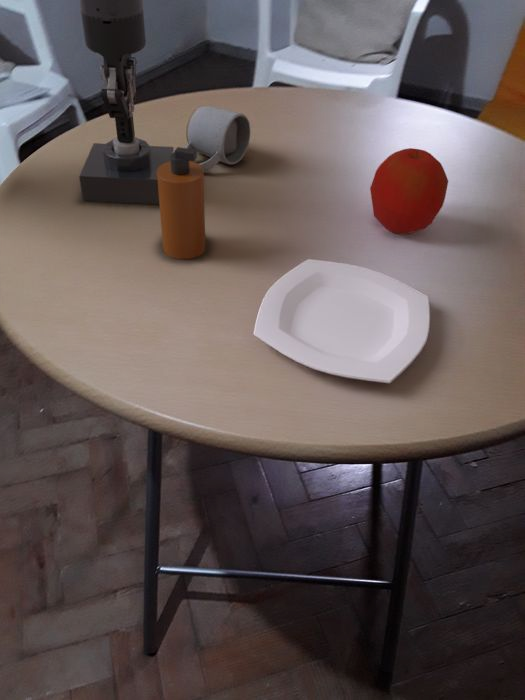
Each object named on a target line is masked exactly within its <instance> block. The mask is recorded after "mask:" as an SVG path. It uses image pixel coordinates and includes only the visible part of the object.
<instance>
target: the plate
mask: <svg viewBox="0 0 525 700" xmlns="http://www.w3.org/2000/svg"><path fill="white" fill-rule="evenodd" d="M430 326H431V308H430V298H429V296H428V295H427V294H424V293H422V292H421V291H419V290H417V289H415V288H413V287H411V286H410V285H408V284H406V283H404V282H403V281H400V280H398V279H396V278H394V277H392V276H389V275H387V274H385V273H382V272H379V271H377V270H374V269H370V268H367V267H363V266H360V265H354V264H349V263H344V262H343V263H342V262H336V261H328V260H321V259H320V260H319V259H310V258H307V259H306V260H304V261H302V262H301V263H299V264H298V265H297V266H295V267H293V268H292V269H291V270H289V271H288V272H286V273H285V274H284V275H282V276H281V277H279V279H278V280H276V281H275V282H274V283H273V284H272V286H270V287H269V288H268V290H267V292H266V293H265V295H264V296H263V298H262V301H261V303H260V306H259V309H258V313H257V317H256V319H255V325H254V330H253V336H255V338H257V339H259V340H261V341H262V342H263V343H265V344H266V345H268V346H269V347H271V348H272V349H274V350H276V351H277V352H278V353H280V354H282V355H283V356H285V357H286V358H289V359H290V360H292V361H294V362H296V363H298V364H300V365H302V366H304V367H307V368H310V369H312V370H314V371H318V372H320V373H324V374H328V375H331V376H336V377H342V378H345V379H351V380H360V381H367V382H374V383H381V384H391V383H392V382H394V380H395V379H397V378H398V377H399V376H400V375H401V374H403V372H404V371H405V370H406V369H407V368H408V367H409V366H410V365H411V364H412V363H413V362H414V360H415V359H416V358H417V357H418V356H419V354H421V351H422V350H424V349H423V348H424V347H425V345H426V343H427V342H428V337H429V334H430Z"/></svg>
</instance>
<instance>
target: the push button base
mask: <svg viewBox="0 0 525 700" xmlns="http://www.w3.org/2000/svg"><path fill="white" fill-rule="evenodd" d="M113 140H114V139H111V140H109V141H108V142H106V143H100V142H99V143H98V142H94V143H93V144H92V145H91V148H90V150H89V153H88V155H87V157H86V160H85V162H84V164H83V166H82V168H81V171H80V173H79V176H78V179H79V183H80V189H81V190H80V191H81V195H82V200H83V201H82V202H93V203H115V204H134V205H135V204H136V205H137V204H138V205H159V193H158V180H157V169H158V168H159V166H161V165H162V164H164V163H166V162H169V161H171V160H170V155H171V154H172V153H174V152H175V149H174V146H161V145H150V144H149V143H148V141H146V140H143V139H141V138H138V140H139V148H140V151H139V152H137V153H136V154H131V155H120V154H117V153H114V146H113ZM159 206H160V205H159Z"/></svg>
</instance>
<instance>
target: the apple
mask: <svg viewBox="0 0 525 700" xmlns="http://www.w3.org/2000/svg"><path fill="white" fill-rule="evenodd" d="M448 186H449V179H448V177H447V174H446V172H445V169H444V167H443V165H442V163H441V162H440V161H439V160H438V159H437V158H436V157H435V156H434V155H433V154H431V152H429V151H426V150H425V149H420V148H413V147H412V148H402V149H400V150H397V151H395V152H393V153H391V154H389V156H388V157H386V158H385V159H384V160H383V161H382V162H381V163H380V164H379V165H378V167H377V169H376V170H375V173H374V176H373V179H372V181H371V184H370V187H369V189H370V191H369V192H370V199H371V205H372V211H373V217H374V218H375V219H376V220H377V222H379V224H380V225H381V226H383V227H384V228H385V229H386V230H387V231H389V232H391V233H393V234H398V235H405V234H411V233H415V232H418V231H422V230H425V229H427V228H428V227H429V226H430V225H432V224H433V222H434V220H435V219H436V217H437V216H438V214H439V213H440V211H441V210H442V208H443V207H444V206H443V205H444V203H445V200H446V196H447V191H448Z"/></svg>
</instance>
